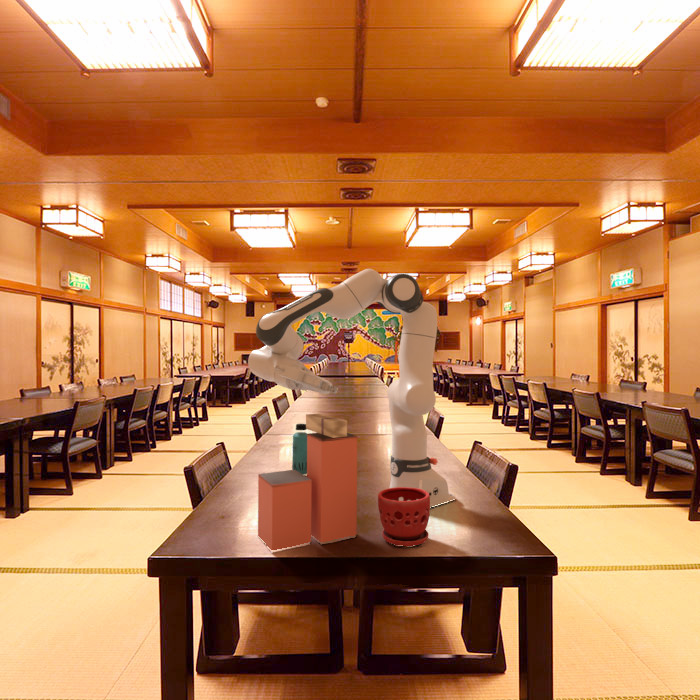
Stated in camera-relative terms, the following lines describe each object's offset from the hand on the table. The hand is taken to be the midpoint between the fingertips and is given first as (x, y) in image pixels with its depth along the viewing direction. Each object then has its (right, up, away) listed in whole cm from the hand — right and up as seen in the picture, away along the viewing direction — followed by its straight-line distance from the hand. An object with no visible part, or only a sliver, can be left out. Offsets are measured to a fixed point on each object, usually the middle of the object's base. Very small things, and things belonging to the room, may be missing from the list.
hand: (328, 387), depth 131 cm
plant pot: (+20, -38, -15) cm, 45 cm away
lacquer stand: (-5, -37, -14) cm, 40 cm away
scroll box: (0, -11, -9) cm, 14 cm away
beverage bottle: (-13, -38, +43) cm, 58 cm away
